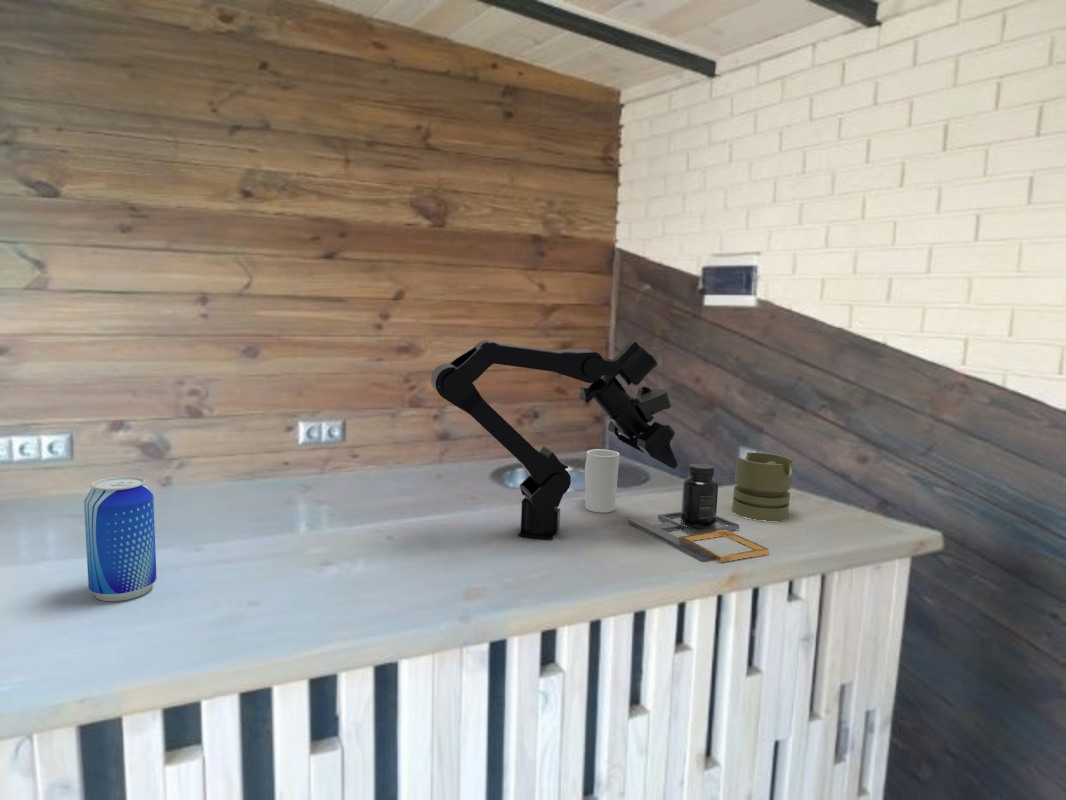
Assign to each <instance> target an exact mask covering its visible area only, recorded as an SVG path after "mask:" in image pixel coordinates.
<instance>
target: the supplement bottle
mask: <svg viewBox="0 0 1066 800" xmlns="http://www.w3.org/2000/svg"><path fill="white" fill-rule="evenodd" d="M688 475H689V476H688V477H686V478H684V479H683V482H682V496H681V511H680V512H681V517H680V522H681V524H682V525H685V526H687V527H690V528H691V529H693V528H695V529H694V530H701V529H708V528H715V526H716V525H717V524H716V523H717V522H716V515H717V509H718V495H719V485H718V482H717V481H716V480H715V479H714V478H713V477H715V467H714V466H713V465H711V464H706V463H691V464H689V465H688Z"/></svg>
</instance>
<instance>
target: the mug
mask: <svg viewBox="0 0 1066 800" xmlns="http://www.w3.org/2000/svg"><path fill="white" fill-rule="evenodd" d="M619 462H620V453H619V452H618V451H616V450H611V449H610V450H609V449H602V448H601V449H599V448H598V449H596V448H594V449H589V450H587V451H586V461H585V464H584V465H585V466H584V479H585V503H584V504H585V506H584V507H585V509H586V510H587V511H589V512H594V513H598V514H600V513H601V514H605V513H606V514H607V513H612V512H614V511H615V509H616V500H617V486H618V474H619Z"/></svg>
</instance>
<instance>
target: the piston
mask: <svg viewBox="0 0 1066 800" xmlns="http://www.w3.org/2000/svg"><path fill="white" fill-rule="evenodd" d="M793 462H794V461H793V459H791V458H789V457H786V456H784V455H779V454H775V453H768V452H767V453H766V452H757V451H756V452H755V451H754V452H752V451H751V452H746V457H745V458H742V457H740V456H736V461H735V463H736V464H735V474H734V483H735V484H736V485H735V486H734V488H733V498H732V510H731V511H732V513H733V512H734V513H736V514H738V515H740V516H743V517H747V518H751V519H756V520H766V521H779V522H782V521H781V520H784V521H786V520H788V518H789V509H790V500H791V499H790V497H791V493H790V492H789V490H791V488H792V479H793ZM734 513H733V514H734ZM736 514H735V515H736ZM738 515H737V516H738ZM740 516H739V517H740ZM743 517H742V518H743ZM785 519H786V520H785Z"/></svg>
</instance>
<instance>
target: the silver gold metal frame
mask: <svg viewBox="0 0 1066 800" xmlns="http://www.w3.org/2000/svg"><path fill="white" fill-rule="evenodd" d="M674 517H680V518H681V511H677V512H668V513H661V514H657V520H658V519H659V520H658V521H660V520H661V521H660V522H662V521H663V523H656V524H655V523H654V524H652V523H651V522H647V521H646V520H644V519H642V518H630V519H628V524H629V525H631V526H633V525H634V526H636V527H637V529H638V528H639V529H638V530H640V529H641V530H640V531H642V530H643V532H644V531H645V532H644V533H646V532H647V533H646V534H648V533H649V534H648V535H650V534H651V535H650V536H652V535H653V536H652V537H654V536H655V537H654V538H656V537H657V538H656V539H658V538H659V539H658V540H660V539H661V540H663V541H665V542H667V543H668V545H669V544H670V545H669V546H671V545H672V546H671V547H673V546H674V548H675V547H676V548H675V549H677V548H678V549H677V550H679V549H680V550H679V551H681V550H682V551H681V552H683V553H685V554H686V553H687V555H688V554H689V556H690V555H691V556H690V557H692V556H693V558H694V557H695V558H694V559H696V558H697V559H696V560H698V561H700V562H701V563H705V562H711V561H715V560H716V561H715V562H717V561H718V562H717V563H719V562H720V563H719V564H722V563H721V562H724V563H728V562H727V561H730V562H733V561H732V560H735V561H738V560H737V559H741V560H743V559H742V558H746V559H750V558H749V557H752V558H757V557H762V556H768V555H770V549H769V548H767V547H765V546H763V545H761V544H759V543H756V542H755V541H751V540H749V539H747V538H745V537H743V536H741V535H738V534H736V533H734V532H733V531H730V530H736V529H739V530H740V524H738V523H735V522H733V521H732V520H731V521H730V520H729V519H727V518H724V517H722V516H719V515H717V514H716V521H718V522H717V523H719V522H720V523H719V524H721V523H723V524H725V525H728V526H725V525H723V524H722V525H723V526H716V527H715V526H714V527H713V528H708V529H693V528H689V527H686V526H684V525H683V524H682V523H679V522H678V521H675V520H673V519H675V518H674ZM669 518H673V519H669ZM664 522H666V523H664ZM634 526H633V527H634ZM636 527H635V528H636ZM675 529H681V530H683V531H685V532H687V533H689V534H690V535H689V534H687V533H686V534H687V535H682V536H676V535H674V534H672V533H670V532H671V531H670V530H675ZM681 530H680V531H681ZM666 531H668V532H666ZM675 531H676V530H675ZM683 531H682V532H683ZM736 531H737V530H736ZM685 532H684V533H685ZM724 535H725V536H724ZM719 536H722V537H726V536H727V537H726V538H728V537H729V538H728V539H730V538H732V539H734V540H736V541H735V542H737V541H738V542H737V543H739V542H741V543H742V544H741V543H740V544H741V545H743V544H745V545H747V546H746V547H748V546H749V547H748V548H750V547H751V548H750V549H752V548H753V549H752V550H747V551H746V550H745V551H742V552H741V551H740V552H736V553H731V554H730V553H729V554H723V555H721V554H718V553H716V552H714V551H712V550H710V549H708V548H706V547H704V546H702V545H700V544H698V543H696V542H695V541H694V540H697V541H701V540H700V539H703V540H708V539H707V538H710V539H715V538H714V537H716V538H720V537H719ZM732 539H731V540H732ZM661 540H660V541H661ZM734 540H733V541H734ZM663 541H662V542H663ZM665 542H664V543H665ZM667 543H666V544H667ZM745 545H744V546H745ZM754 549H755V550H754ZM710 560H711V561H710Z"/></svg>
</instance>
